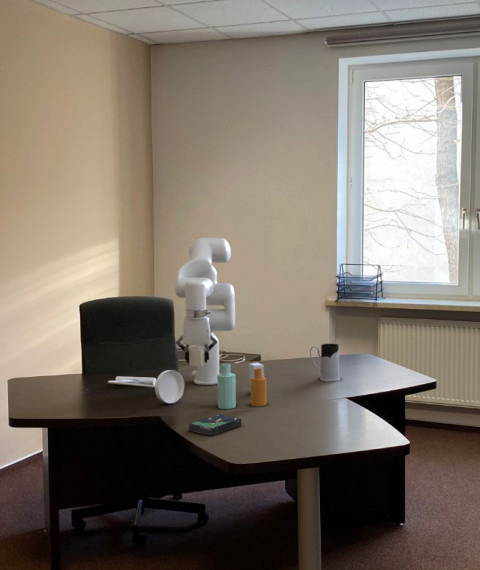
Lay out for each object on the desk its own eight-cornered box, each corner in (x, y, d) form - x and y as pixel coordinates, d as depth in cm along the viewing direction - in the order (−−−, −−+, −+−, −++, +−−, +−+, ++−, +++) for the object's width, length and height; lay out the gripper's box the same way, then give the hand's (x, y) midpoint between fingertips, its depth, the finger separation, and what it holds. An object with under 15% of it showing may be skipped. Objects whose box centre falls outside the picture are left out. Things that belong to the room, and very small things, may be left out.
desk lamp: (204, 370, 292) (137, 365, 322) (159, 370, 275) (92, 365, 306) (203, 401, 291) (135, 394, 321) (157, 404, 274) (90, 395, 305)
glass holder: (334, 382, 314) (333, 347, 313) (305, 378, 321) (305, 344, 320) (343, 378, 321) (343, 344, 320) (315, 375, 329) (315, 341, 328)
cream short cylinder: (186, 365, 272) (185, 349, 271) (196, 362, 276) (196, 346, 276) (197, 366, 268) (197, 350, 268) (208, 364, 273) (208, 348, 272)
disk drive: (219, 421, 255) (188, 430, 243) (219, 413, 254) (188, 422, 243) (241, 426, 248) (211, 436, 237) (241, 418, 248) (211, 427, 236)
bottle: (214, 407, 273) (213, 364, 272) (225, 403, 279) (225, 361, 277) (227, 409, 270) (227, 366, 268) (239, 406, 275) (238, 363, 274)
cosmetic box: (265, 395, 292) (264, 364, 291) (254, 396, 290) (254, 365, 289) (259, 391, 298) (258, 362, 297) (248, 393, 296) (248, 363, 295)
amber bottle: (247, 405, 276) (247, 369, 275) (257, 402, 281) (256, 367, 280) (260, 407, 273) (259, 371, 272) (269, 404, 278) (269, 368, 276)
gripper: (219, 311, 275) (220, 359, 277) (173, 312, 273) (174, 360, 275) (219, 314, 267) (220, 363, 269) (171, 315, 266) (172, 365, 268)
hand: (197, 361), depth 272 cm, fingers closed on cream short cylinder, 6 cm apart
